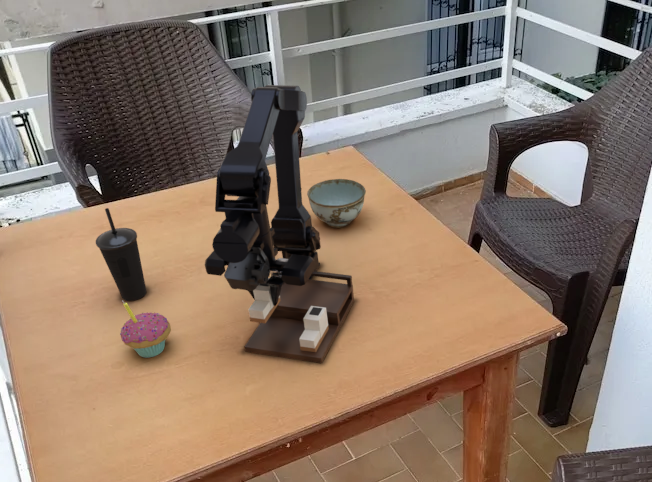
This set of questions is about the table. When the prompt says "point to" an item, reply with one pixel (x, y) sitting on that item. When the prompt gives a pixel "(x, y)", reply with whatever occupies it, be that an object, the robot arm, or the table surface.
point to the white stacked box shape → (314, 328)
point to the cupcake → (145, 332)
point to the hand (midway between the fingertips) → (267, 303)
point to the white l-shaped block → (262, 304)
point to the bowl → (337, 201)
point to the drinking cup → (123, 260)
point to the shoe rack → (288, 317)
